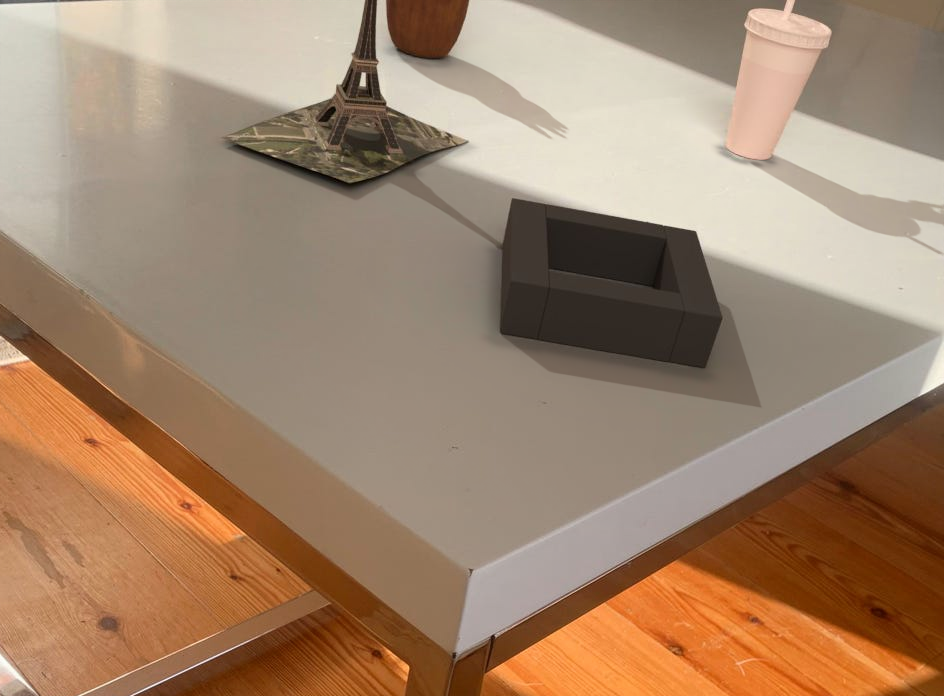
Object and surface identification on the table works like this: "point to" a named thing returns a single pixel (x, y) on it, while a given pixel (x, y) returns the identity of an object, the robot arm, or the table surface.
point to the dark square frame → (607, 284)
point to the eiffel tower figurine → (348, 124)
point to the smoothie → (772, 77)
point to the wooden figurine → (425, 25)
